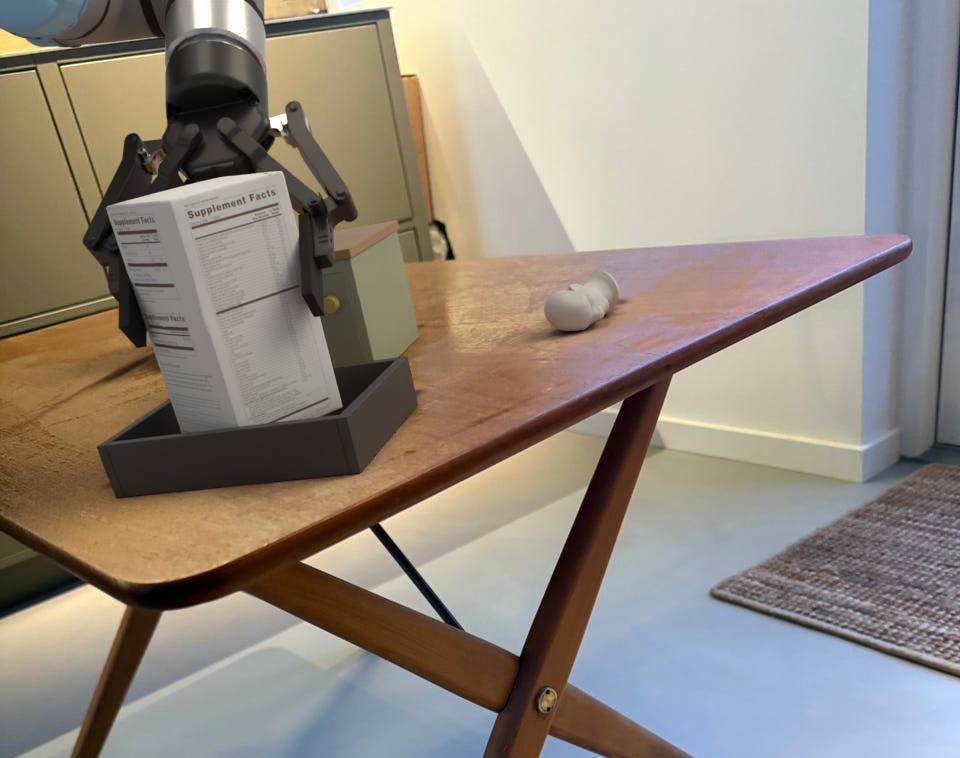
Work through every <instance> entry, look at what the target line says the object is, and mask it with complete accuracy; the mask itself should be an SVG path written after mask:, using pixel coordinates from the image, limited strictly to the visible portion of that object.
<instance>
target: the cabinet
mask: <svg viewBox="0 0 960 758" xmlns="http://www.w3.org/2000/svg"><path fill="white" fill-rule="evenodd" d="M399 229H400V225H399V220H397V219H395V220H389V221H384V222H378V223H372V224H366V225H361V226H355V227H349V228H343V229H339V230H338V229H337V230H334V231H333V235H334V254H335V262H334V264H333V267H329V268H324V269H322V279H323V298H324V316H320V320H321V324H322V328H323V332H324V336H325V340H326V343H327V347H328V351H329V355H330V359H331V363H332V366H336V365H344V364H351V363H359V362H366V361H374V360H381V359H389V358H396V357H401V355H402V354H403V353H405V352H406V351H407V349H409V347H411V346H412V344H413V343H415V342H416V341H417V340H418V339H419V338H420V333H419V327H418V323H417V318H416V314H415V309H414V308H415V307H414V305H413V300H412V294H411V290H410V285H409V280H408V275H407V271H406V267H405V261H404V256H403V252H402V251H403V250H402V247H401V242H400V237H399V233H398V230H399Z"/></svg>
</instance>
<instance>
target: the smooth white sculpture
mask: <svg viewBox="0 0 960 758" xmlns="http://www.w3.org/2000/svg"><path fill="white" fill-rule="evenodd" d="M620 291H621V290H620V286H619V283H618V282H617V280H616V278H615V276H613V275H612V274H611V273H609V272H608V271H604V270H602V269H597V270H594V271H593V272H592V273H591V274H590V275H589V277H588V279H587V280H586V282H585V283H584V284H579V283H570V284H569V285H568V288H565V289H560V290H557V291H555V292H554V293H551V294H550V295H549V296H548V297H547V299H546V301H545V303H544V305H543V313H544V317H545V319H546V321H547V322H548V324H550V326H551V327H553V328H555V329H557V330H560V331H563V332H577V331H578V332H579V331H584V330H586V329H588V328H589V326H591V325H592V324H594V323H595V322H596V321H600V320H602V319H603V318H604V316H605V315H606V314H608V313H610V312H611V311H613V310H614V309H615V308H616V306H617V305H618V303H619V298H620V294H621V292H620Z"/></svg>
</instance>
